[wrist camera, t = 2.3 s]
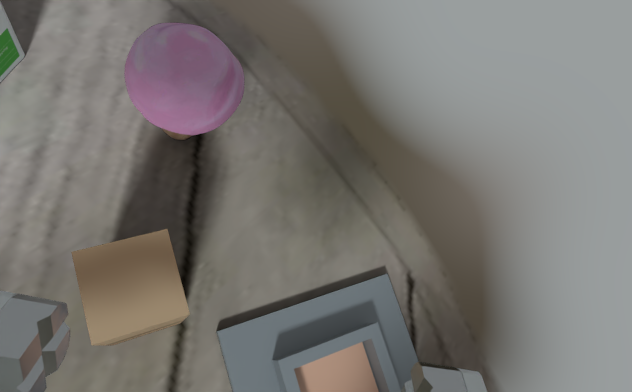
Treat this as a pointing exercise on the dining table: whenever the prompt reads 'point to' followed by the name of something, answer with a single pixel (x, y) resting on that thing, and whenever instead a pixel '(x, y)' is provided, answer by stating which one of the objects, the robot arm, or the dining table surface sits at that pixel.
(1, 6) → the skincare box
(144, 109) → the cupcake
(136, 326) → the block
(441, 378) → the robot arm
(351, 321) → the housing
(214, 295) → the dining table surface
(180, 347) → the dining table surface
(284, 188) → the dining table surface
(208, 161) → the dining table surface
